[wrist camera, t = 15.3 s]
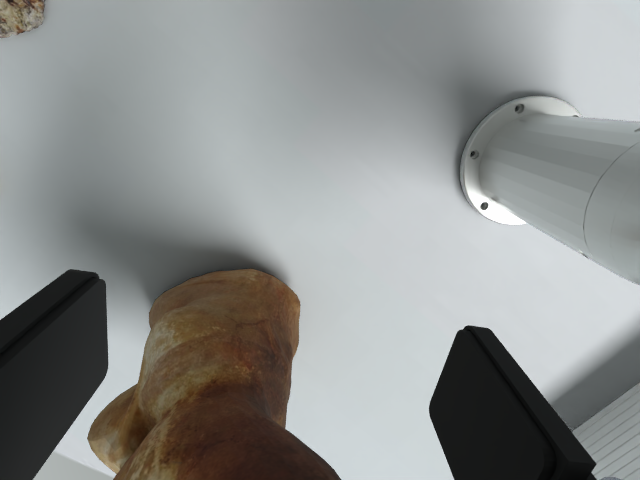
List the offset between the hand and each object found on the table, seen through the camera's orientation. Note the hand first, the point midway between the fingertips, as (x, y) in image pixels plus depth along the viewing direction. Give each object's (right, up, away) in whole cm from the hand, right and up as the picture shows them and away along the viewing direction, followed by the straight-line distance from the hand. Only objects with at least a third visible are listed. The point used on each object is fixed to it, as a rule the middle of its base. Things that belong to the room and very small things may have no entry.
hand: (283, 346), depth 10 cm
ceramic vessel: (-7, -5, +32) cm, 33 cm away
